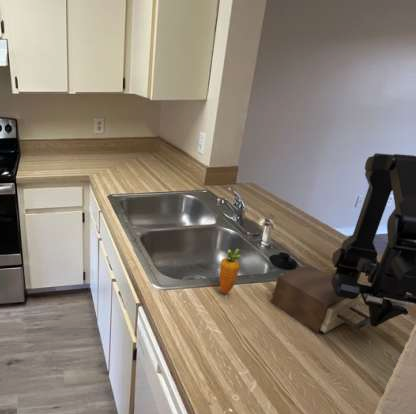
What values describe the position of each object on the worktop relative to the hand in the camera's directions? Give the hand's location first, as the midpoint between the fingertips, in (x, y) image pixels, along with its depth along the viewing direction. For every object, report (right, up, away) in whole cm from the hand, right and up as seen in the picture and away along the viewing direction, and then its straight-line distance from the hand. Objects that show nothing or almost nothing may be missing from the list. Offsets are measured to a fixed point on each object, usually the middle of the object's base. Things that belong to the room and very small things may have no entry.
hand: (372, 325), depth 75 cm
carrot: (-26, +2, +20) cm, 33 cm away
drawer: (-4, -1, +10) cm, 11 cm away
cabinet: (-6, -1, +14) cm, 15 cm away
